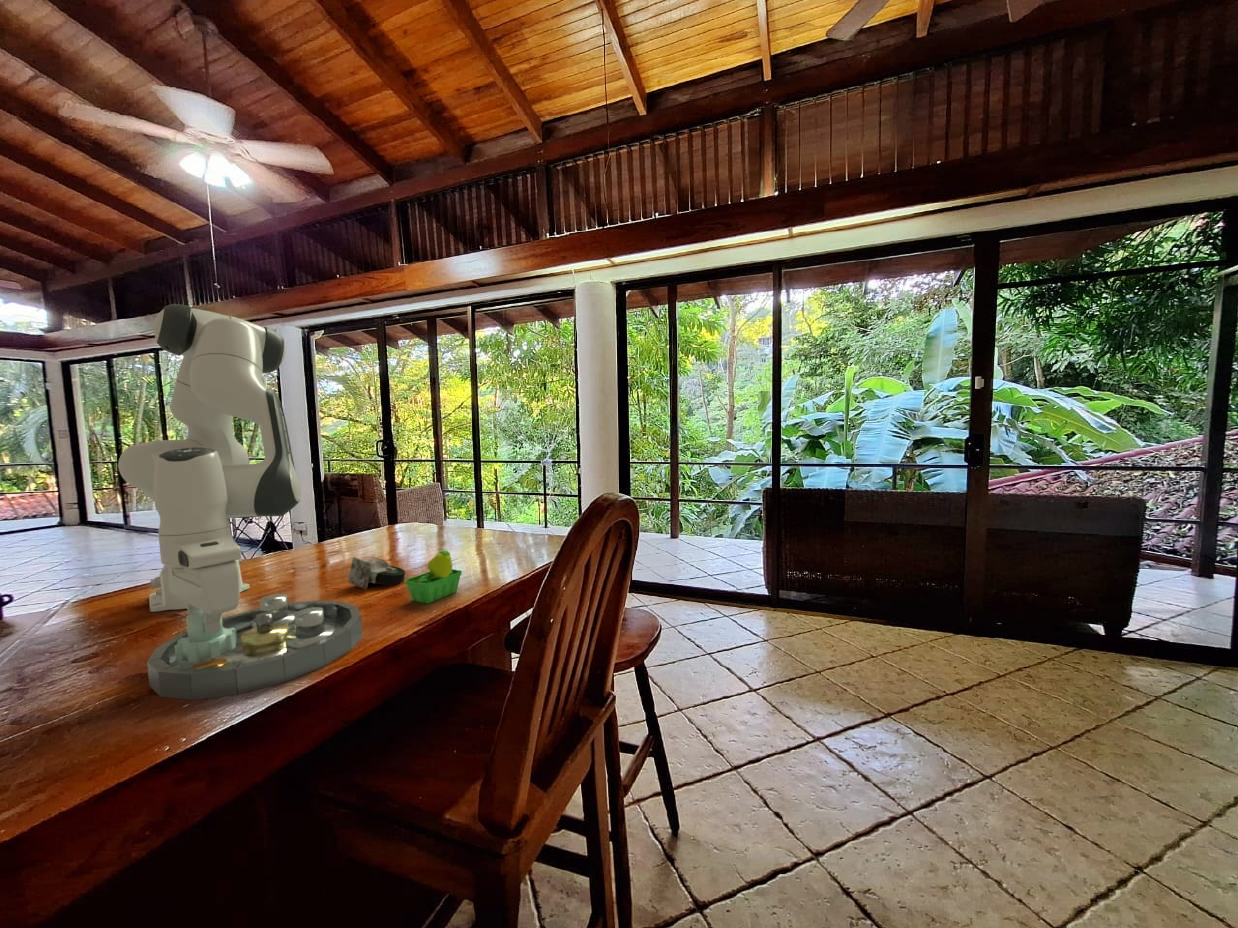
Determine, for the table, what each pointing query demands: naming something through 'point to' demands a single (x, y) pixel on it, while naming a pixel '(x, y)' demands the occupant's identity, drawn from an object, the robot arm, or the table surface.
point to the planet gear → (203, 640)
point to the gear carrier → (261, 649)
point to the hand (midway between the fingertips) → (205, 629)
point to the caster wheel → (374, 573)
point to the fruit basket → (435, 580)
